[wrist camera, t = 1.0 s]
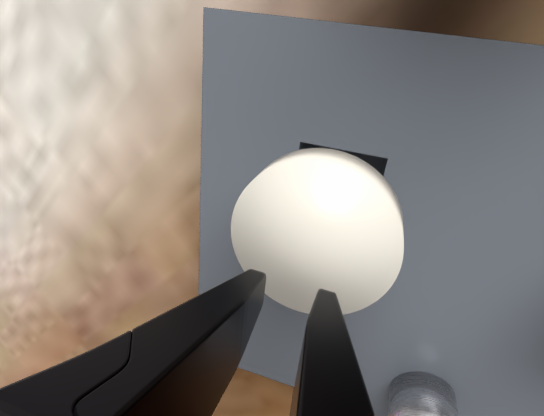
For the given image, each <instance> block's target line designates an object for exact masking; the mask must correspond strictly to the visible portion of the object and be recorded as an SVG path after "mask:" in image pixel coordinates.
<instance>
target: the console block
mask: <svg viewBox="0 0 544 416" xmlns="http://www.w3.org/2000/svg"><path fill="white" fill-rule="evenodd" d="M307 148H328V149H335V150H339V151H343V152H346V153H349V154H351V155H354V156H356V157H358V158H360V159H362V160H363V161H365V162H367V163H368V164H370V165H371V166H372V167H374V168H375V169H376V170H377V171H378V172H379V173H380V174H381V175H382V176H383V177H384V178H385V179H386V180H387V182H388V183H389V184H390V185H391V187H392V189H393V190H394V192H395V194H396V196H397V198H398V201H399V203H400V206H401V210H402V214H403V224H404V254H403V261H402V265H401V269H400V272H399V274H398V276H397V278H396V280H395V282H394V283H393V285H392V286H391V288H390V289H389V290H388V291H387V292H386V294H384V295H383V296H382V297H381V298H380V299H379V300H378V301H376V302H374V303H373V304H371V305H370V306H368V307H366V308H364V309H361V310H359V311H356V312H353V313H349V314H344V315H343V316H344V320H345V323H346V326H347V329H348V332H349V335H350V338H351V341H352V345H353V348H354V351H355V354H356V357H357V360H358V363H359V366H360V370H361V373H362V376H363V379H364V382H365V385H366V388H367V391H368V395H369V398H370V401H371V404H372V407H373V410H374V414H375V416H388V411H389V387H390V384H391V382H392V380H393V379H394V378H395V377H397V376H398V375H400V374H403V373H406V372H413V371H419V372H426V373H430V374H433V375H436V376H438V377H440V378H441V379H443V380H444V381H446V382H447V383H448V384H449V385H450V386H451V387H452V389H453V390H454V392H455V395H456V401H457V407H458V414H459V416H544V45H535V44H526V43H517V42H508V41H499V40H491V39H482V38H473V37H464V36H455V35H446V34H437V33H428V32H419V31H410V30H402V29H393V28H384V27H375V26H366V25H357V24H348V23H339V22H330V21H321V20H313V19H304V18H295V17H286V16H277V15H268V14H259V13H250V12H241V11H232V10H224V9H215V8H206V7H204V14H203V72H202V130H201V189H200V247H199V295H200V294H202V293H204V292H206V291H208V290H210V289H212V288H214V287H216V286H218V285H220V284H221V283H223V282H225V281H227V280H229V279H231V278H233V277H235V276H237V275H239V274H241V273H243V272H244V270H243V269H242V267H241V265H240V263H239V262H238V259H237V257H236V254H235V252H234V248H233V244H232V238H231V220H232V214H233V210H234V207H235V205H236V202H237V200H238V198H239V196H240V195H241V193H242V192H243V190H244V189H245V188H246V187H247V186H248V185H249V183H250V182H251V181H252V180H253V179H254V178H255V177H256V176H257V175H259V174H260V173H261V172H262V171H263V170H264V169H265V168H266V167H267V166H268V165H269V164H271V163H272V162H273V161H274V160H276V159H278V158H279V157H281V156H283V155H285V154H288V153H290V152H293V151H297V150H301V149H307ZM308 316H309V314H307V313H303V312H299V311H296V310H293V309H290V308H288V307H286V306H284V305H282V304H280V303H278V302H276V301H275V300H273V299H271V298H270V297H269V296H267V295H266V294H265V293H264V301H263V305H262V308H261V311H260V313H259V316H258V318H257V321H256V324H255V326H254V329H253V331H252V334H251V336H250V339H249V341H248V344H247V346H246V349H245V351H244V354H243V356H242V359H241V361H240V363H239V365H238V368H241V369H244V370H247V371H249V372H252V373H255V374H258V375H261V376H264V377H267V378H269V379H272V380H275V381H278V382H281V383H284V384H287V385H289V386H292V387H294V385H295V379H296V374H297V369H298V364H299V359H300V354H301V349H302V343H303V338H304V333H305V328H306V323H307V319H308Z"/></svg>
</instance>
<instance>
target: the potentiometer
mask: <svg viewBox="0 0 544 416" xmlns="http://www.w3.org/2000/svg"><path fill="white" fill-rule="evenodd" d="M388 416H459V414H458V407H457V401H456V395H455V392H454V390H453V389H452V387H451V386H450V385H449V384H448V383H447V382H446V381H444V380H443V379H441V378H440V377H438V376H436V375H433V374H430V373H426V372H419V371H413V372H406V373H403V374H400V375H398V376H397V377H395V378H394V379H393V380H392V382H391V384H390V387H389V411H388Z"/></svg>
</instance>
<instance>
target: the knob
mask: <svg viewBox="0 0 544 416" xmlns="http://www.w3.org/2000/svg"><path fill="white" fill-rule="evenodd" d="M231 238H232V244H233V248H234V252H235V254H236V257H237V259H238V262H239V263H240V265H241V267H242V269H243V270H244V272H245V271H247V270H249V269H254V270H257V271H261V272H264V273H265V274H266V285H265V294H266V295H267V296H269V297H270V298H271V299H273V300H275V301H276V302H278V303H280V304H282V305H284V306H286V307H288V308H290V309H293V310H296V311H299V312H303V313H307V314H309V313H310V310H311V308H312V305H313V302H314V299H315V297H316V294H317V291H318V290H319V289H325V290H328V291H332V292H335V293H336V295H337V298H338V301H339V304H340V307H341V310H342V313H343V315H344V314H349V313H353V312H356V311H359V310H361V309H364V308H366V307H368V306H370V305H371V304H373V303H374V302H376V301H378V300H379V299H380V298H381V297H382V296H383V295H384V294H386V292H387V291H388V290H389V289H390V288H391V286H392V285H393V283H394V282H395V280H396V278H397V276H398V274H399V272H400V269H401V265H402V261H403V254H404V224H403V214H402V210H401V206H400V203H399V201H398V198H397V196H396V194H395V192H394V190H393V189H392V187H391V185H390V184H389V183H388V182H387V180H386V179H385V178H384V177H383V176H382V175H381V174H380V173H379V172H378V171H377V170H376V169H375V168H374V167H372V166H371V165H370V164H368V163H367V162H365V161H363V160H362V159H360V158H358V157H356V156H354V155H351V154H349V153H346V152H343V151H339V150H335V149H328V148H307V149H301V150H297V151H293V152H290V153H288V154H285V155H283V156H281V157H279V158H278V159H276V160H274V161H273V162H272V163H271V164H269V165H268V166H267V167H266V168H265V169H264V170H263V171H262V172H261V173H260V174H259V175H257V176H256V177H255V178H254V179H253V180H252V181H251V182H250V183H249V185H248V186H247V187H246V188H245V189H244V190H243V192H242V193H241V195H240V196H239V198H238V200H237V202H236V205H235V207H234V210H233V214H232V220H231Z"/></svg>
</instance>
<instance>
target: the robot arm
mask: <svg viewBox="0 0 544 416" xmlns="http://www.w3.org/2000/svg"><path fill="white" fill-rule="evenodd" d="M265 285H266V274H265V273H264V272H261V271H257V270H254V269H249V270H247V271H245V272H243V273H241V274H239V275H237V276H235V277H233V278H231V279H229V280H227V281H225V282H223V283H221V284H220V285H218V286H216V287H214V288H212V289H210V290H208V291H206V292H204V293H202V294H200V295H198V296H196V297H194V298H192V299H190V300H188V301H186V302H185V303H183V304H181V305H179V306H177V307H175V308H173V309H171V310H169V311H167V312H165V313H163V314H161V315H159V316H157V317H155V318H153V319H152V320H150V321H148V322H146V323H144V324H142V325H140V326H138V327H136V328H134V329H133V330H132V332H131V331H128V332H126V333H124V334H122V335H120V336H118V337H116V338H114V339H112V340H110V341H108V342H106V343H104V344H102V345H100V346H98V347H96V348H94V349H92V350H90V351H88V352H85V353H83V354H81V355H78V356H76V357H74V358H72V359H69V360H67V361H65V362H62V363H60V364H58V365H55V366H53V367H51V368H48V369H46V370H43V371H41V372H39V373H36V374H34V375H31V376H29V377H27V378H24V379H22V380H19V381H17V382H15V383H12V384H10V385H7V386H5V387H3V388H0V416H212V414H213V412H214V410H215V408H216V406H217V405H218V403H219V401H220V399H221V397H222V395H223V394H224V392H225V390H226V388H227V386H228V384H229V382H230V381H231V379H232V377H233V375H234V373H235V371H236V369H237V367H238V365H239V363H240V361H241V359H242V356H243V354H244V351H245V349H246V346H247V344H248V341H249V339H250V336H251V334H252V331H253V329H254V326H255V324H256V321H257V318H258V316H259V313H260V311H261V308H262V305H263V301H264V293H265ZM374 415H375V414H374V410H373V407H372V404H371V401H370V398H369V395H368V391H367V388H366V385H365V382H364V379H363V376H362V373H361V370H360V366H359V363H358V360H357V357H356V354H355V351H354V348H353V345H352V341H351V338H350V335H349V332H348V329H347V326H346V323H345V320H344V316H343V313H342V310H341V307H340V304H339V301H338V298H337V295H336V293H335V292H332V291H328V290H325V289H319V290H318V291H317V294H316V297H315V299H314V302H313V305H312V308H311V310H310V313H309V316H308V319H307V323H306V328H305V333H304V338H303V343H302V349H301V354H300V359H299V364H298V369H297V374H296V379H295V385H294V390H293V397H292V403H291V410H290V416H374Z"/></svg>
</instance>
